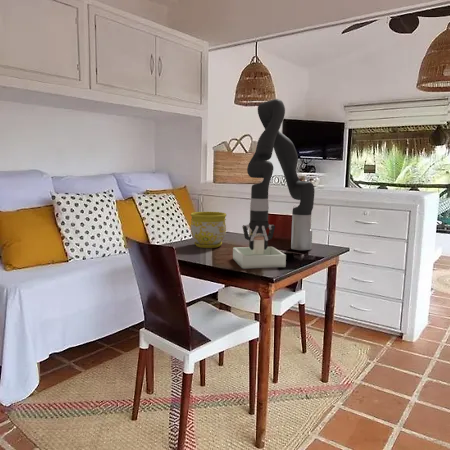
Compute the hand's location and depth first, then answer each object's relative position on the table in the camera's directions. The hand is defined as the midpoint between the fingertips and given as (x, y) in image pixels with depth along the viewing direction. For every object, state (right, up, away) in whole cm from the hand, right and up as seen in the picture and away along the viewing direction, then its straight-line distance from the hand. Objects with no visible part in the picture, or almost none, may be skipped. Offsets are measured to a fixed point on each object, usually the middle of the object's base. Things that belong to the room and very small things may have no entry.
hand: (258, 249), depth 180 cm
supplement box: (+1, -3, +21) cm, 21 cm away
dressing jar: (0, -2, 0) cm, 2 cm away
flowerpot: (-22, -1, +37) cm, 43 cm away
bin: (0, -6, +1) cm, 6 cm away
